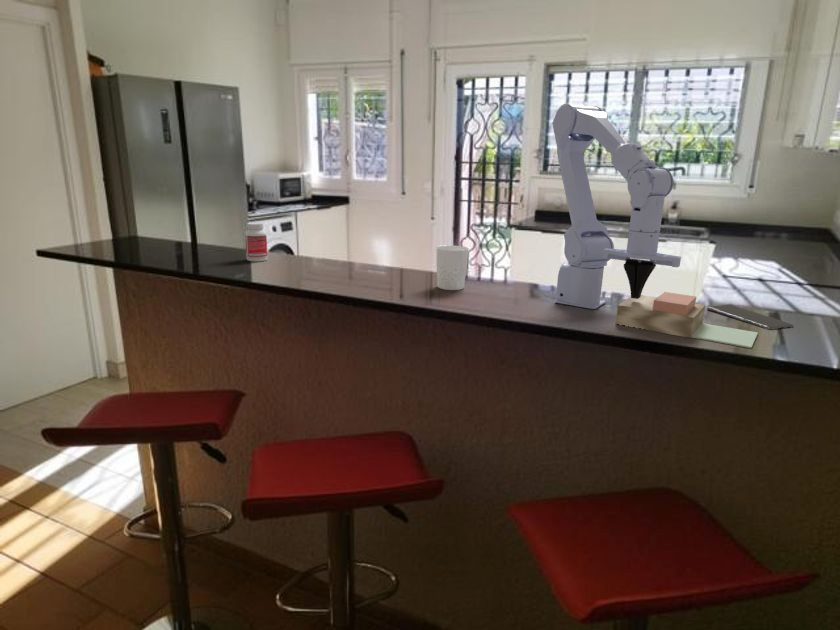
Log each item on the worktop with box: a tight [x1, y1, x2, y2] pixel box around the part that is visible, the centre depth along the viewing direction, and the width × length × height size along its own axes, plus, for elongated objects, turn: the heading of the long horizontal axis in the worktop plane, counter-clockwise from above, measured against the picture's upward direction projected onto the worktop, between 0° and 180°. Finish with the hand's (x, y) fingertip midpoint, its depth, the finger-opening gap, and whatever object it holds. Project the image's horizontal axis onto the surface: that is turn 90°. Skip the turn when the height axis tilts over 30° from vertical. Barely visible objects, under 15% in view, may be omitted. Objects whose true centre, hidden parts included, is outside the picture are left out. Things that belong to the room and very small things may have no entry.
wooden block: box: [615, 294, 706, 339], centre depth 115 cm, size 14×12×4 cm
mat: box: [691, 322, 759, 349], centre depth 109 cm, size 10×11×1 cm
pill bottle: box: [244, 222, 268, 263], centre depth 171 cm, size 6×6×11 cm
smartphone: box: [706, 304, 794, 330], centre depth 122 cm, size 7×1×16 cm
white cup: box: [435, 245, 469, 291], centre depth 142 cm, size 8×8×10 cm
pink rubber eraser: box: [653, 291, 697, 316], centre depth 112 cm, size 6×9×2 cm, turn 145°
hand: (635, 297), depth 116 cm, fingers closed
